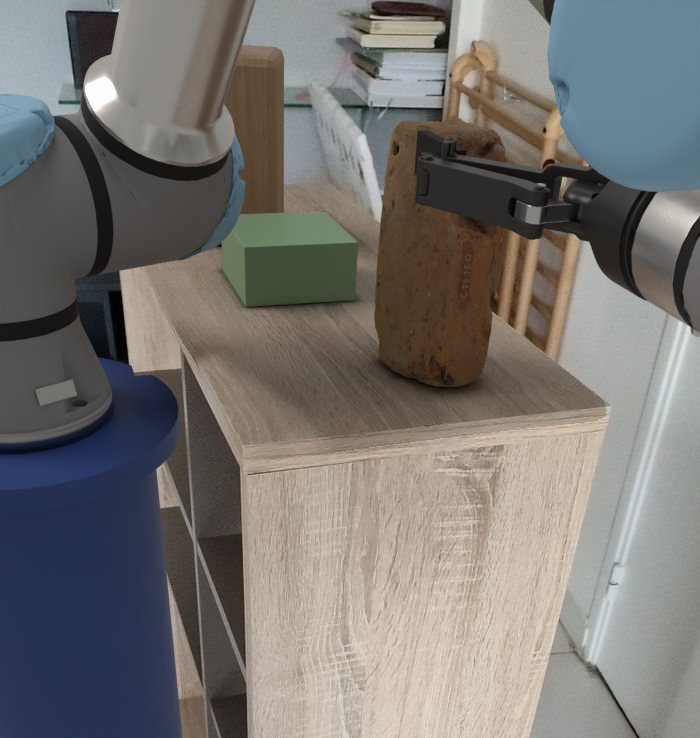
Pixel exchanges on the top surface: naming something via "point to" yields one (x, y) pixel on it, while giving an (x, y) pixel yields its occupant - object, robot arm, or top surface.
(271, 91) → the wooden block
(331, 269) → the green base
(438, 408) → the top surface
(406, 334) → the brown porous chunk
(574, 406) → the top surface
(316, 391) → the top surface
